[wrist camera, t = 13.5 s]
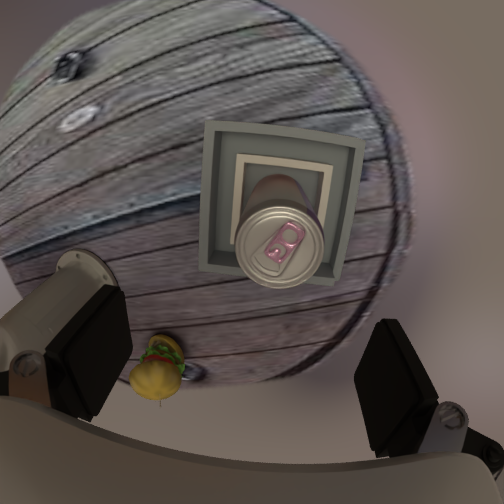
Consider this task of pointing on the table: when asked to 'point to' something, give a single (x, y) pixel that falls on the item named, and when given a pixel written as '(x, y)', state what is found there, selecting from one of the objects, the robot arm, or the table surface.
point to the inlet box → (267, 163)
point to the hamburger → (158, 369)
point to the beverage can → (279, 234)
